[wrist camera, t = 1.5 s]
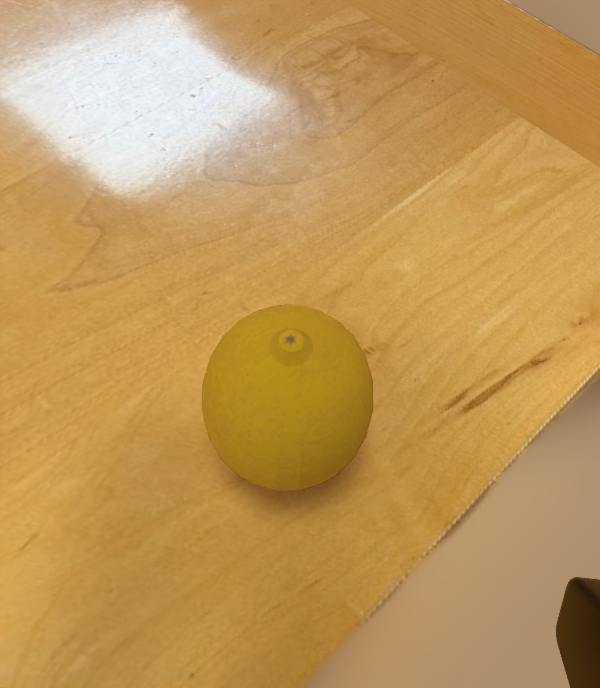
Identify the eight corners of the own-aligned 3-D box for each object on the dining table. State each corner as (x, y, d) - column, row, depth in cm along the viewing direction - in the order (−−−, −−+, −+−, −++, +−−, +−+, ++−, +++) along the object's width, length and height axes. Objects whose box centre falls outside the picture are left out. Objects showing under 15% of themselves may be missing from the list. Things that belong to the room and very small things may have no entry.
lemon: (293, 355, 24) (302, 228, 17) (385, 452, 22) (437, 353, 15) (184, 434, 22) (145, 326, 15) (274, 548, 20) (276, 483, 13)
